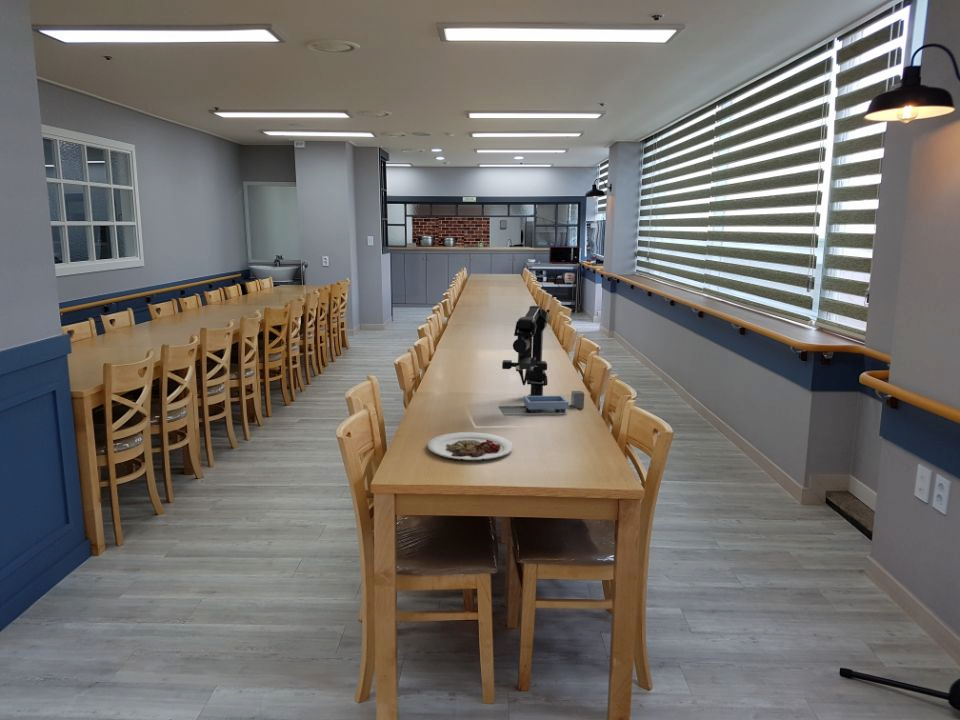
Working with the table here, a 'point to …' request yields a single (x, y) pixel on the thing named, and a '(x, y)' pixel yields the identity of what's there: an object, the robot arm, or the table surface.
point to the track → (528, 411)
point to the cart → (545, 402)
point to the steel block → (577, 399)
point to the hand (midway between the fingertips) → (523, 385)
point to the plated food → (470, 446)
